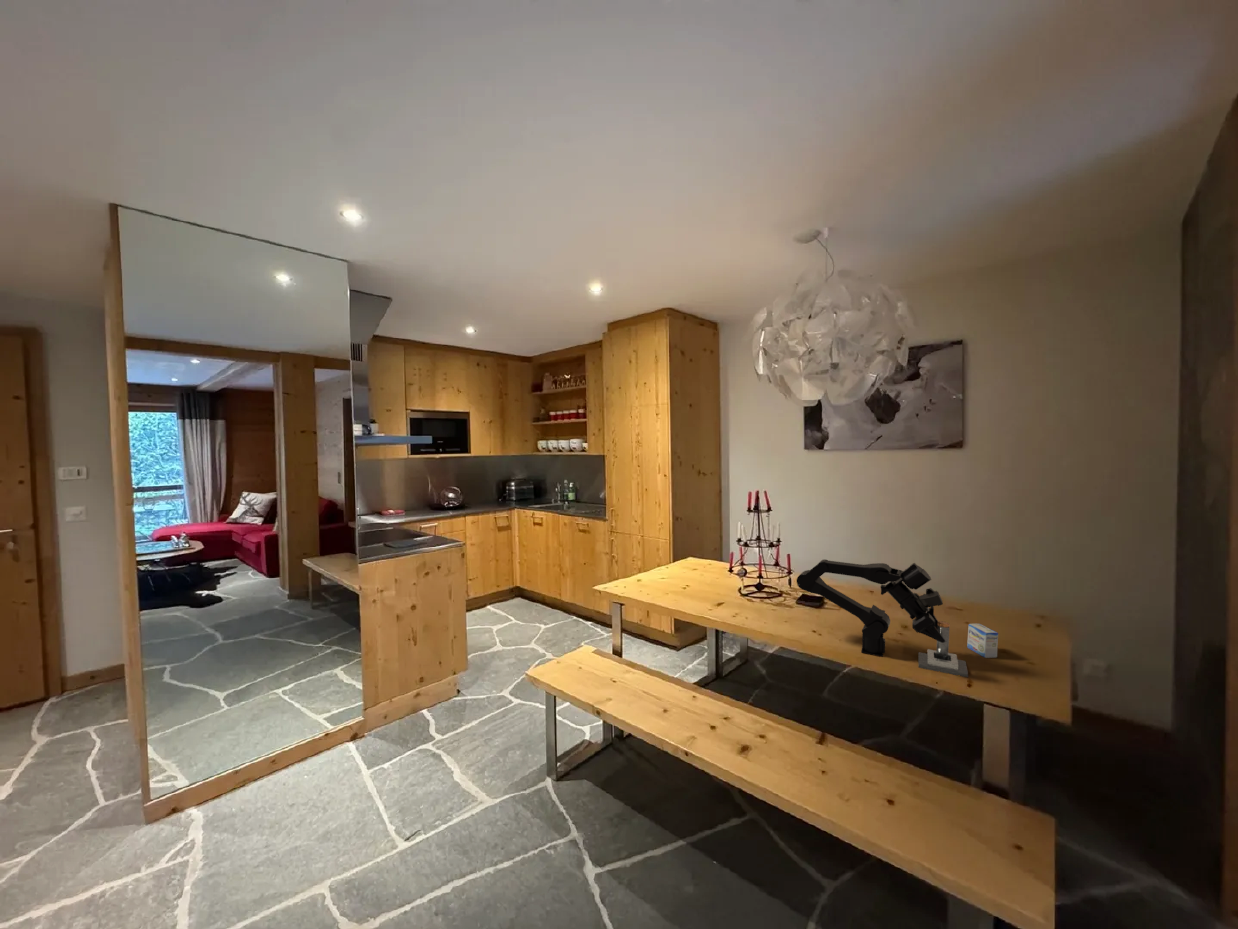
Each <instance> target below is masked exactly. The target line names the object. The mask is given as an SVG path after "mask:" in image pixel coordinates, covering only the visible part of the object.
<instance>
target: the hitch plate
mask: <svg viewBox="0 0 1238 929" xmlns="http://www.w3.org/2000/svg"><path fill="white" fill-rule="evenodd" d="M926 652H927V653H926ZM926 652H921V651H920V652H918V658H917V659H918V661H917V662H918V663H917V664H918V665H917V667H918V668H921V669H924V670H928V671H929V670H930V671H934V672H939V671H940V672H939V673H944V674H948V673H949V675H955V676H958V675H960V676H959V677H964V678H969V671H968V666H967V663H966V660H962V659H958V656H957V654H955V653H950V652H948V660H942V659H937V658H936V650H933V649H930V648H927V651H926Z"/></svg>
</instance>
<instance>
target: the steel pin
mask: <svg viewBox="0 0 1238 929" xmlns="http://www.w3.org/2000/svg"><path fill="white" fill-rule="evenodd" d="M950 626H951V624H950V623H949V622H946V621H941V620H940V621H939V620H938V627H937V630H938V631H939V632H940V634H941V635H942V637H943V638H944V639H945V642H944V643H941V642H939V641H937V640H936V650H935V651H936V658H937V659H942V660H948V653H949V650H950V648H949V644H950Z"/></svg>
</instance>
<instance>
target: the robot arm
mask: <svg viewBox="0 0 1238 929" xmlns="http://www.w3.org/2000/svg"><path fill="white" fill-rule="evenodd" d="M827 573H829V574H834V575H841V576H849V577H855V578H856V577H857V578H862V579H865V580H867V581H869V582H872V583H875V584H879V585H880V595H882V596H883V595H885V594H886V593H888V594H889V596H891V597H892V598H893V599H894V600H895V601H896V602H897V604H899V608H900V609H901V610H905V612H907V614H908V616H909V618H910V619H911V620H912V622H911V623H912V624H911V625H912V626H911V627H912V629H913V630H914V631H915V632H916V633H917V634H918V633H919V634H922V635H925V636H927V637H929V638H932V639H933V640H935V641H936V642H937V641H939V642H941V643H944V642H945V639H944V638H943V637H942V635H941V634H940V632H939V631H938V630H937V627H938V622H939V620H938V619H937V617H936V616H935V614H934V613H935V612H934V610H935V608H934V607H936V606H938V607H939V606H942V605H944V602H943V599H942V597H941V595H940V593H939V591H937V590H934V589H932V588H931V587H929V588H926V589H925V593H923V594H922V595H919V594H918V593H916V592H913V591H912V590H918V589H919V588H921V587H923V586H925V585H926V584H927V583H929V582H930V581H932V578H931V576H930V574H929V573H928V572H927V571H926V570H925V569H924V568H922V567H921V566H919V565H918V564H916V562H913V563H912V564H910V566H908V567H907V568H905V569H904V570H900V569H898V568H894V567H891V566H890V565H889V564H887V563H883V562H881V563H880V562H879V563H878V562H877V563H868V564H860V563H858V564H857V563H853V562H852V563H851V562H844V561H836V560H828V559H822V560H820V561H819V562H818V563H817V564H816V565H815V566H813V567H812V568H811V569H810V570H809V569H806V570H804V571H802V572H801V573H800V574H799V575H798V576H797V578H796V584H797V587H798V588H799V589H800V590H803V591H805V592H807V593H810V594H816V595H819V596H821V597H822V598H824V599H825V600H828V601H829V602H831V603H833V604H835V605H837V607H840V609H841V608H842V609H843V610H845V611H846V612H848V613H850V614H851V615H853V616H855V617H856V618H858V619H859V620H860V621H861V622H862V623H863V627H862V629H861V635H862V637H861V639H862V640H861V644H862V645H861V653H863V654H868V655H873V656H878V657H883V656H884V654H886V638H884V634H886V633H887V631H888V630H889V627H890V625H891V619H890V616H889V615H888V613H887V612H886V610H884V609H881V608H879V607H878V606H877V605H876V604H872V605H871V607H869V606H865V605H863V604H861V603H860V602H858V601H856V600H855V599H853V598H851V597H850V596H847V595H846V594H844V593H842V592H840V591H839V590H837V589H836V588H834V587H832V586H830V585H829V584H827V583H826V582H825V580H824V579H822V578H821V576H823V575H824V574H827Z"/></svg>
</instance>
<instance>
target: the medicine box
mask: <svg viewBox="0 0 1238 929" xmlns="http://www.w3.org/2000/svg"><path fill="white" fill-rule="evenodd" d="M967 627H968V629H967V642H966V644H967V646H966V647H967V649H968V650H970V651H973V652H974V653H976V654H977V655H979V656H981V657H982V658H985V659H991V658H992V659H993V658H994V659H995V658H998V646H999V645H998V643H999V642H998V641H999V632H997V631H995V630H993V629H991V628H989V627H987V626H986V625H983V624H981V623H969V624H968V626H967Z"/></svg>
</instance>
